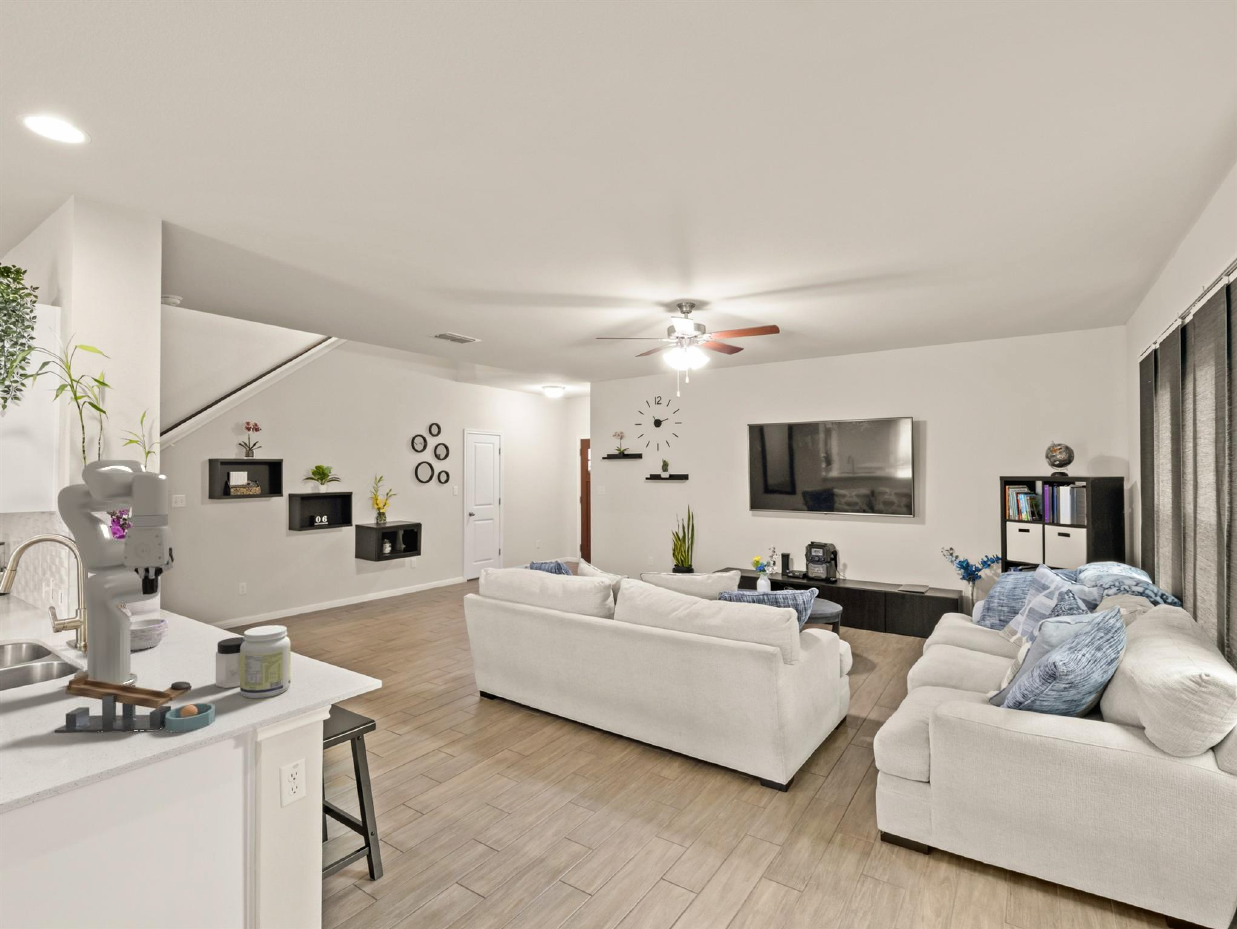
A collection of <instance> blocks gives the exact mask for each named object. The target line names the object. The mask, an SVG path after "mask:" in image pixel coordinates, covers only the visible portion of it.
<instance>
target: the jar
mask: <svg viewBox="0 0 1237 929" xmlns="http://www.w3.org/2000/svg"><path fill="white" fill-rule="evenodd" d="M243 637H244V636H235V637H230V638H225V639H221V640H219V641H218V642H217V651H216V652H215V686H216V687H220V688H223V689H231V688H236V687H240V647H241V644H242V643H243V642H244V641H245V640H244V639H243Z"/></svg>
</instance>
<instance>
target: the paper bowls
mask: <svg viewBox="0 0 1237 929" xmlns="http://www.w3.org/2000/svg"><path fill="white" fill-rule="evenodd" d="M168 634H169V621H168V619H165V618H147V619H139V620H138V619H137V620H132V621H131V620H130V651H139V650H140V649H141V650H145V649H146V648H147V649H150V647H151V648H153V647H156V646H158V645H159V644H160V643H161V641H162V639H163V638H164V637H167V636H168ZM147 649H146V650H147ZM141 650H140V651H141Z"/></svg>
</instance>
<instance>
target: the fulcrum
mask: <svg viewBox="0 0 1237 929" xmlns="http://www.w3.org/2000/svg"><path fill="white" fill-rule="evenodd" d="M128 686H134V687H136V684H130V685H128ZM121 704H122V708H121V709H122V710H121V712H122V714H117V702H116V695H105V696H102V700H101V713H102V714H101V715H99V714H98V715H90V707H89V706H87V707H85V706H83V707H81V706H79V707H77V708H75V709H73V710H71V711H68V712H67V713H65V724H64V725H61V726H60V727H58V728H56V729H54V734H55V733H56V734H57V733H58V734H64V733H71V734H72V733H112V732H111V731H133V732H135V731H134V730H138V731H137V732H141V731H140V730H144V731H143V732H148V731H147V730H159V729H160V728H162V727H163V728H165V727H166V726H165V725H166V713H167V712H169V711H171V710H172V706H171V705H162V706H161V707H159V708H157V709H155V708H154V710H151V711H150V712H149V714H136V706H137V705H131V704H124V703H121ZM164 726H165V727H164ZM163 728H162V729H163ZM160 730H161V729H160ZM160 730H159V731H160ZM98 731H99V732H98ZM101 731H103V732H101ZM108 731H110V732H108Z"/></svg>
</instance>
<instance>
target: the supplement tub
mask: <svg viewBox="0 0 1237 929" xmlns="http://www.w3.org/2000/svg"><path fill="white" fill-rule="evenodd" d="M287 629H288V628H287V627H286V626H285V625H277V624H275V625H270V624H269V625H262V626H256V627H252V628H249V629H247V630H245V631H244V632H243V636H242V637H243V639H244V640H245V641H244V642H243V643H242V644H241V647H240V686H239V687H240V688H239V693H240V694H241V696H242V697H245V698H249V699H266V698H270V697H271V698H272V697H275V696H277V695H281V694H282V693H284V692H286V691H288V689H290V687H291V682H292V681H291V645H292V643H291V640H290V638H289V637H288V636H287V635H288V631H287Z"/></svg>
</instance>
